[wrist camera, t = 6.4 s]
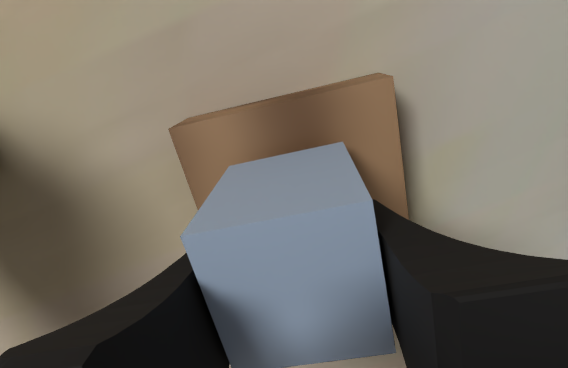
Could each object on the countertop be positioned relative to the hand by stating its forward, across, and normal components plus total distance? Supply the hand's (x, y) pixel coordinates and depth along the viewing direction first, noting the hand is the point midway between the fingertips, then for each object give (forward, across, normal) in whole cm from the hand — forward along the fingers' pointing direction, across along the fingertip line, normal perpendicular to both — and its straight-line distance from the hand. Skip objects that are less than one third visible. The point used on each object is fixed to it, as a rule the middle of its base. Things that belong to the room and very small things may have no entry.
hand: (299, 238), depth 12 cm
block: (+2, 0, 0) cm, 2 cm away
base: (+5, 0, 0) cm, 5 cm away
